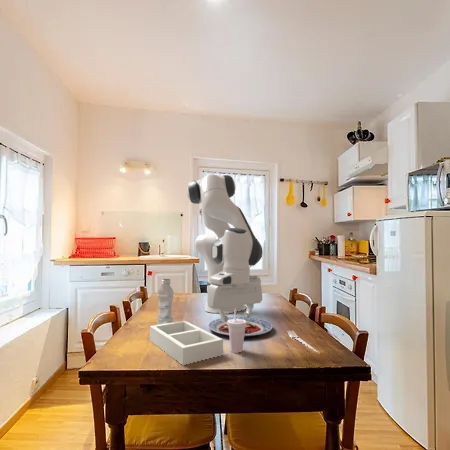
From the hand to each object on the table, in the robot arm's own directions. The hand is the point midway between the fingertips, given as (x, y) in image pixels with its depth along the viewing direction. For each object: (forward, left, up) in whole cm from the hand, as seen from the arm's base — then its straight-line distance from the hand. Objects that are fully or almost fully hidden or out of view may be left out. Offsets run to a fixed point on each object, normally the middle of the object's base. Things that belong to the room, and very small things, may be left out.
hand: (235, 319), depth 102 cm
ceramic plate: (-15, -18, -11) cm, 26 cm away
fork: (-25, +7, -11) cm, 28 cm away
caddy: (+13, -13, -10) cm, 21 cm away
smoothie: (0, 0, -11) cm, 11 cm away
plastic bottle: (+10, -35, -11) cm, 38 cm away
